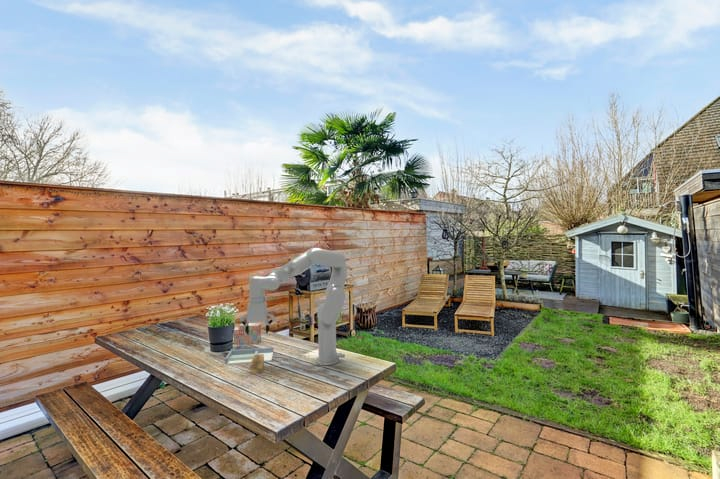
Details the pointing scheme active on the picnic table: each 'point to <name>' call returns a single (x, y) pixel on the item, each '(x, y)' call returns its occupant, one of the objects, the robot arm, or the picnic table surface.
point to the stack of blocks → (249, 338)
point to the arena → (248, 355)
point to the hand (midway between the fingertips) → (257, 333)
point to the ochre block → (257, 363)
